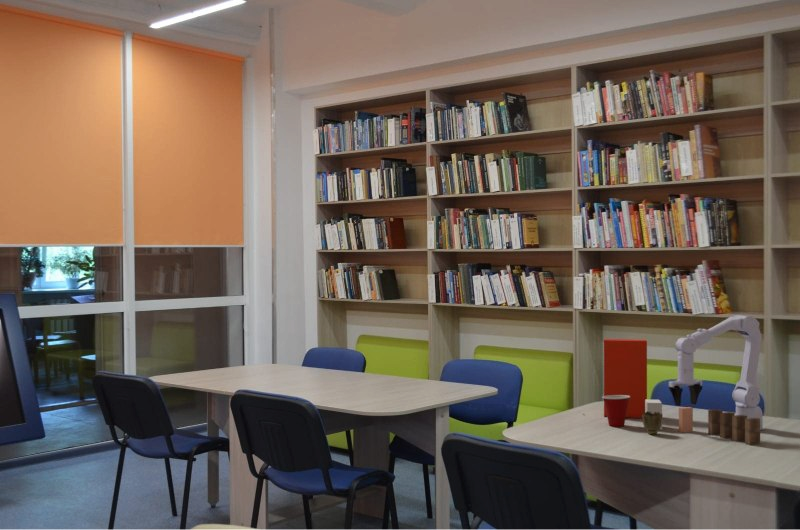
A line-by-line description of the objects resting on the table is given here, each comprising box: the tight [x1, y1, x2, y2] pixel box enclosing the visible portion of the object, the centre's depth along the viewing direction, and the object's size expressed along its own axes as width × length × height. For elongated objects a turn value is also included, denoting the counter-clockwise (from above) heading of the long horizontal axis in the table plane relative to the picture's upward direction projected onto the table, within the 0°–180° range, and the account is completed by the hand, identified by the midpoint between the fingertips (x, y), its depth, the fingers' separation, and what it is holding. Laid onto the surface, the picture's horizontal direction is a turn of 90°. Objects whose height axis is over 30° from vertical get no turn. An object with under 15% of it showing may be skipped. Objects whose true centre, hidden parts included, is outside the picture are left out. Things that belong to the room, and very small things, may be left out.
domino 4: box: [731, 414, 747, 443], centre depth 293 cm, size 5×2×9 cm, turn 112°
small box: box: [645, 398, 663, 431], centre depth 316 cm, size 8×6×10 cm
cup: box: [641, 411, 663, 436], centre depth 304 cm, size 8×7×8 cm
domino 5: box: [744, 418, 761, 446], centre depth 288 cm, size 5×2×9 cm, turn 112°
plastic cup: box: [601, 395, 630, 428], centre depth 320 cm, size 11×11×12 cm
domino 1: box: [678, 406, 694, 433], centre depth 309 cm, size 5×2×9 cm, turn 112°
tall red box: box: [603, 338, 648, 419], centre depth 340 cm, size 8×17×32 cm, turn 76°
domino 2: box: [707, 408, 724, 436], centre depth 304 cm, size 5×2×9 cm, turn 112°
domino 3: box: [719, 411, 736, 439], centre depth 299 cm, size 5×2×9 cm, turn 112°
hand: (685, 404), depth 309 cm, fingers open, 7 cm apart
